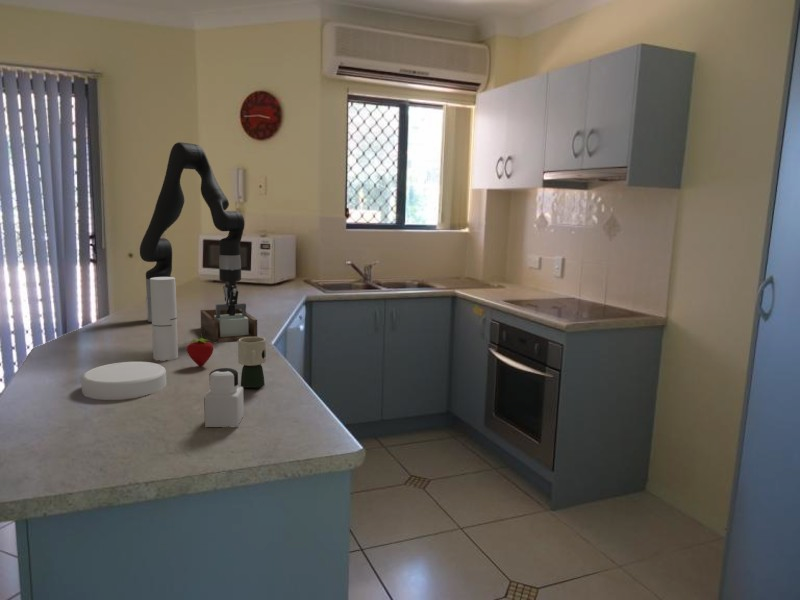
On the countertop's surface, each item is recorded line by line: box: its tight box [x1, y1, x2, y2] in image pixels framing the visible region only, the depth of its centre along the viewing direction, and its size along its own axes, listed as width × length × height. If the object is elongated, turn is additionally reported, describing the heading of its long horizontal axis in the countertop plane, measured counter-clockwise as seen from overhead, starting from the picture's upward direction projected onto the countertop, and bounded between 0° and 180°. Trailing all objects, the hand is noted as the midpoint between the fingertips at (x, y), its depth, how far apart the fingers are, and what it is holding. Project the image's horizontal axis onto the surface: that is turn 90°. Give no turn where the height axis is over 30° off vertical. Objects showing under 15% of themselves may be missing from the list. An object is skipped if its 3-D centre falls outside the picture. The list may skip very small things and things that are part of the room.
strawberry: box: [186, 334, 215, 367], centre depth 169 cm, size 6×8×10 cm
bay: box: [200, 308, 258, 343], centre depth 213 cm, size 15×26×7 cm, turn 29°
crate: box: [214, 302, 249, 337], centre depth 208 cm, size 10×10×11 cm
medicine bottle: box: [203, 367, 245, 428], centre depth 127 cm, size 7×7×12 cm
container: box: [80, 361, 167, 401], centre depth 149 cm, size 20×20×5 cm
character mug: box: [237, 336, 267, 389], centre depth 152 cm, size 11×7×13 cm, turn 18°
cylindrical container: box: [150, 276, 179, 362], centre depth 176 cm, size 7×7×25 cm
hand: (231, 314), depth 207 cm, fingers closed on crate, 2 cm apart
